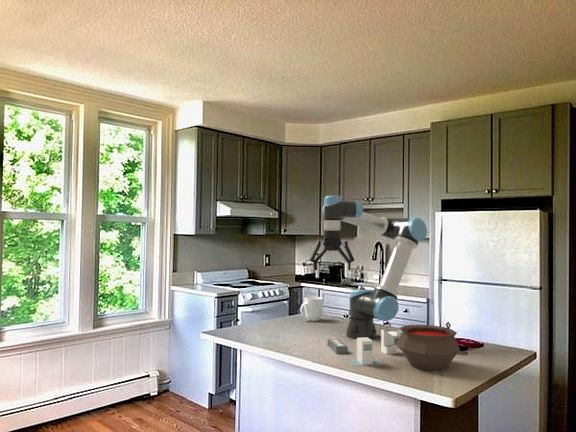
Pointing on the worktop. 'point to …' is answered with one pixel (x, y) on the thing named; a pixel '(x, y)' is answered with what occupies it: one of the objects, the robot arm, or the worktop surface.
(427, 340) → the brown pot
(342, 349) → the power strip
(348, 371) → the worktop surface
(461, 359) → the worktop surface
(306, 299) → the mug
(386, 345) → the white angled block
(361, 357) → the block
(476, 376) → the worktop surface
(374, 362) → the mat
